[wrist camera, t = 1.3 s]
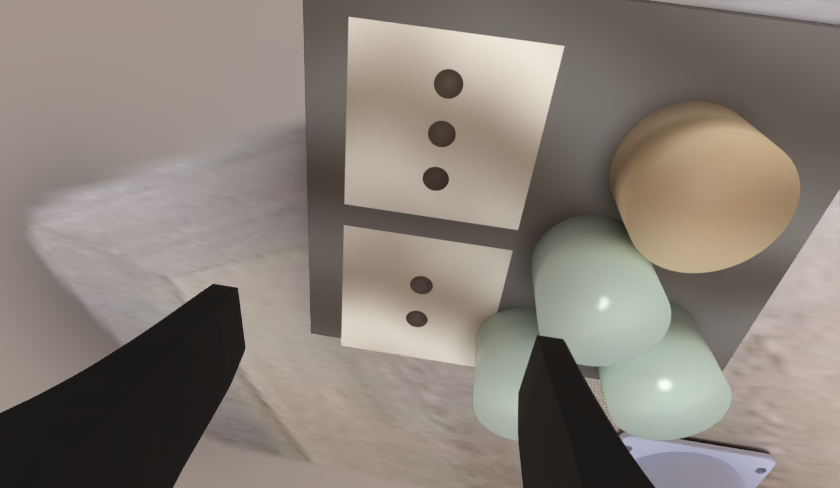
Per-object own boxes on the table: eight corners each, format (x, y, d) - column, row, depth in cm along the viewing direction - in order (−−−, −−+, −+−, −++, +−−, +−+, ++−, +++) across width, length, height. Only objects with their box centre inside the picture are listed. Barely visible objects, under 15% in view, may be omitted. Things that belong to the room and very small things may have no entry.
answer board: (695, 390, 25) (701, 403, 24) (315, 329, 25) (311, 340, 25) (915, 35, 16) (935, 41, 15) (309, -44, 16) (301, -42, 16)
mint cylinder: (623, 310, 22) (644, 374, 19) (520, 294, 22) (525, 356, 19) (661, 223, 19) (692, 282, 16) (545, 206, 19) (555, 261, 16)
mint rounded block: (558, 383, 24) (567, 448, 21) (468, 368, 25) (465, 432, 22) (584, 315, 22) (599, 379, 19) (483, 300, 22) (482, 361, 19)
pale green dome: (675, 379, 23) (703, 447, 20) (579, 365, 24) (593, 431, 21) (714, 306, 21) (753, 371, 18) (607, 292, 21) (628, 353, 18)
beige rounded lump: (718, 234, 19) (752, 283, 17) (591, 215, 19) (606, 261, 17) (783, 111, 16) (834, 148, 14) (634, 91, 17) (660, 123, 14)
